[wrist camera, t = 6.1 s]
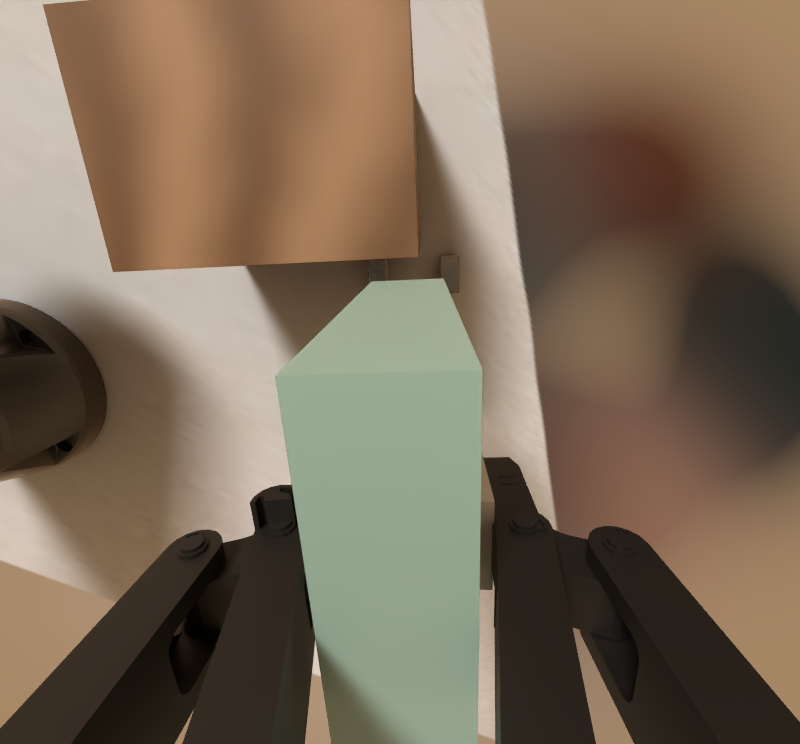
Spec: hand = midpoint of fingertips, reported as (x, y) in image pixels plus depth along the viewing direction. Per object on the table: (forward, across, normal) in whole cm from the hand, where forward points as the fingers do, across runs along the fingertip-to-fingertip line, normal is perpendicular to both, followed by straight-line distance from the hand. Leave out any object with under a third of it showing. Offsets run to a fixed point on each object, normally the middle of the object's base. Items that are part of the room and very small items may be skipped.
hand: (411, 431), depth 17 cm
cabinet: (+18, -7, +12) cm, 22 cm away
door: (+3, 0, 0) cm, 3 cm away
